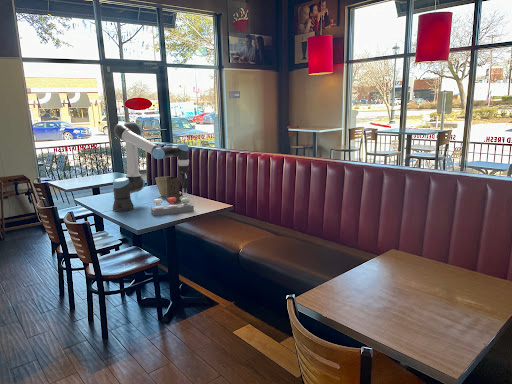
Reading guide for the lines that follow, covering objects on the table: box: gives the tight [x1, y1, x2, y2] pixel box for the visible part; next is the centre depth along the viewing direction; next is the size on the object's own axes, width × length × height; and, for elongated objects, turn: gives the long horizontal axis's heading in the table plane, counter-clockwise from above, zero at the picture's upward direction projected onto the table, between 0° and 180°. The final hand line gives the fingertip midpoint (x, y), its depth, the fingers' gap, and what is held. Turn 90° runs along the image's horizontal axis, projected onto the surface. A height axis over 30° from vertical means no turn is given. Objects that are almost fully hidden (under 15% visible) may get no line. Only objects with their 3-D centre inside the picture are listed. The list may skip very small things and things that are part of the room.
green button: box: [180, 197, 191, 204], centre depth 276 cm, size 6×6×4 cm
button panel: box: [150, 202, 195, 217], centre depth 273 cm, size 29×10×4 cm, turn 115°
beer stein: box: [166, 176, 184, 203], centre depth 308 cm, size 15×11×20 cm
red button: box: [167, 197, 176, 205], centre depth 272 cm, size 6×6×4 cm
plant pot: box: [155, 176, 168, 197], centre depth 328 cm, size 15×15×16 cm
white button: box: [153, 198, 163, 207], centre depth 268 cm, size 6×6×4 cm
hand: (184, 196), depth 276 cm, fingers closed
